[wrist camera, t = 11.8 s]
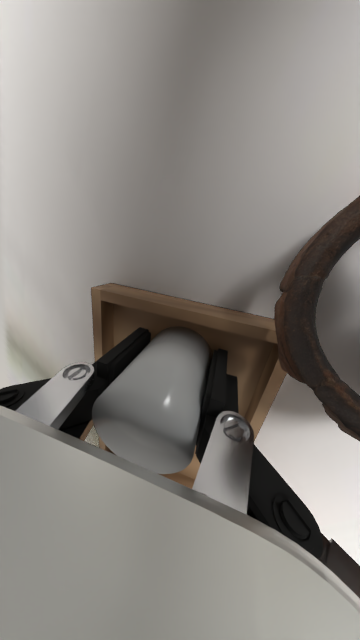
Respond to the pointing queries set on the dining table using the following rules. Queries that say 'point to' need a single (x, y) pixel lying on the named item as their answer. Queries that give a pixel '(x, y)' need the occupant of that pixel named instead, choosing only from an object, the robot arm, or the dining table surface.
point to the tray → (214, 326)
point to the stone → (157, 402)
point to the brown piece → (299, 318)
